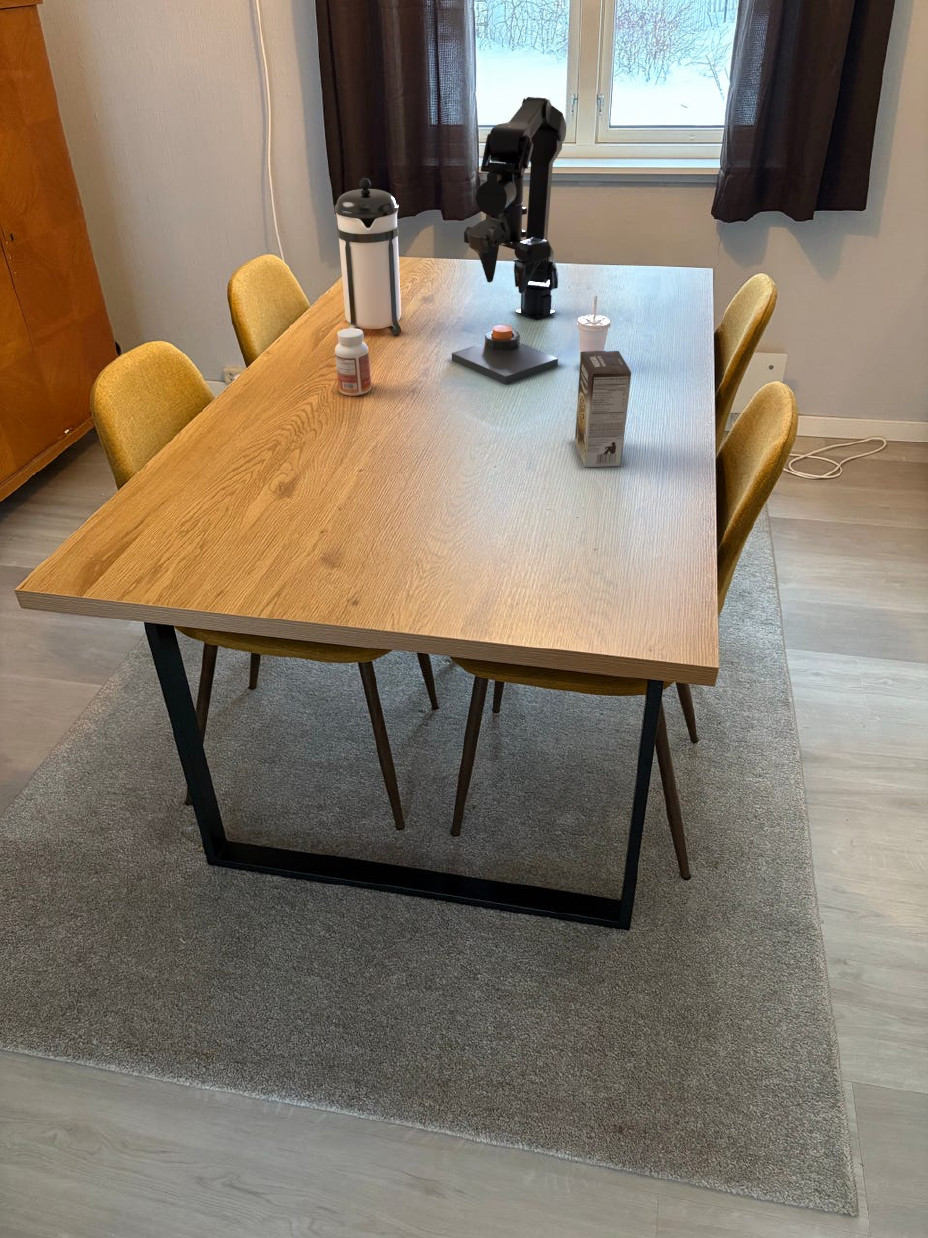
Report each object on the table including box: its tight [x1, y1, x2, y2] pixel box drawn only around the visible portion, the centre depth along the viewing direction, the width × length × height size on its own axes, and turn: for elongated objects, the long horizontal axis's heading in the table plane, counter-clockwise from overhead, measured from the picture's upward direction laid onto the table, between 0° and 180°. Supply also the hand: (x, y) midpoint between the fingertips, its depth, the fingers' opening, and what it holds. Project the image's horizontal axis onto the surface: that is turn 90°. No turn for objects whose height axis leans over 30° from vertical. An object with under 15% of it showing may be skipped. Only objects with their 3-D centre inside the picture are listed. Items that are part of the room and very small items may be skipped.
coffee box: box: [574, 350, 632, 468], centre depth 151 cm, size 9×6×16 cm
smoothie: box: [576, 295, 612, 359], centre depth 180 cm, size 6×6×14 cm
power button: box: [492, 324, 514, 339], centre depth 190 cm, size 4×4×2 cm
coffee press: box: [334, 177, 402, 336], centre depth 195 cm, size 17×16×30 cm
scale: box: [451, 329, 559, 386], centre depth 186 cm, size 16×14×4 cm
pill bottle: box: [334, 327, 372, 397], centre depth 173 cm, size 6×6×11 cm
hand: (505, 287), depth 184 cm, fingers open, 9 cm apart
